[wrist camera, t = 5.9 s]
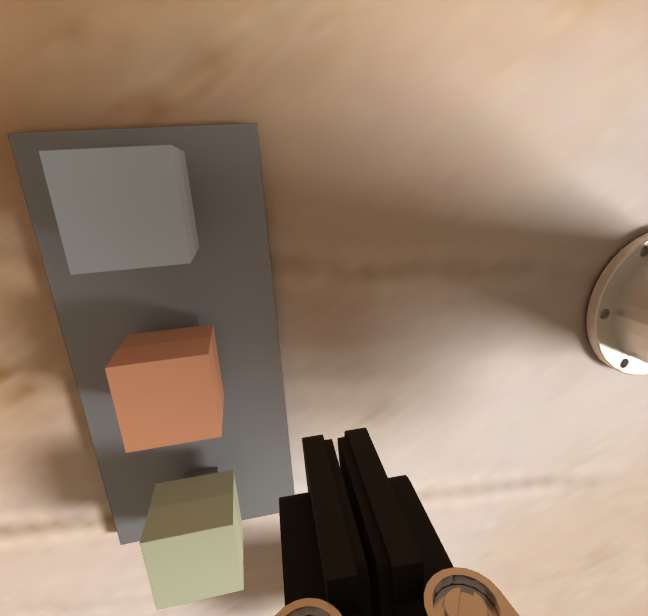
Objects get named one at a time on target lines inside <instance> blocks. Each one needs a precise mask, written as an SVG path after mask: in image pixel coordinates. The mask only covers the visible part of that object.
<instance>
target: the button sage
mask: <svg viewBox="0 0 648 616" xmlns="http://www.w3.org/2000/svg"><path fill="white" fill-rule="evenodd" d="M140 547H141V551H142V555H143V559H144V563H145V566H146V570H147V574H148V578H149V582H150V586H151V590H152V594H153V598H154V601H155V605H156V609H157V610H159V609H163V608H168V607H172V606H176V605H181V604H185V603H189V602H194V601H198V600H202V599H207V598H211V597H215V596H220V595H224V594H228V593H232V592H237V591H241V590H244V575H243V527H242V520H241V514H240V507H239V501H238V494H237V488H236V481H235V475H234V470H229V471H223V472H218V473H212V474H207V475H201V476H196V477H190V478H185V479H179V480H174V481H168V482H163V483H157V484H155V488H154V492H153V495H152V499H151V503H150V507H149V510H148V514H147V518H146V522H145V525H144V529H143V533H142V537H141V540H140Z"/></svg>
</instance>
